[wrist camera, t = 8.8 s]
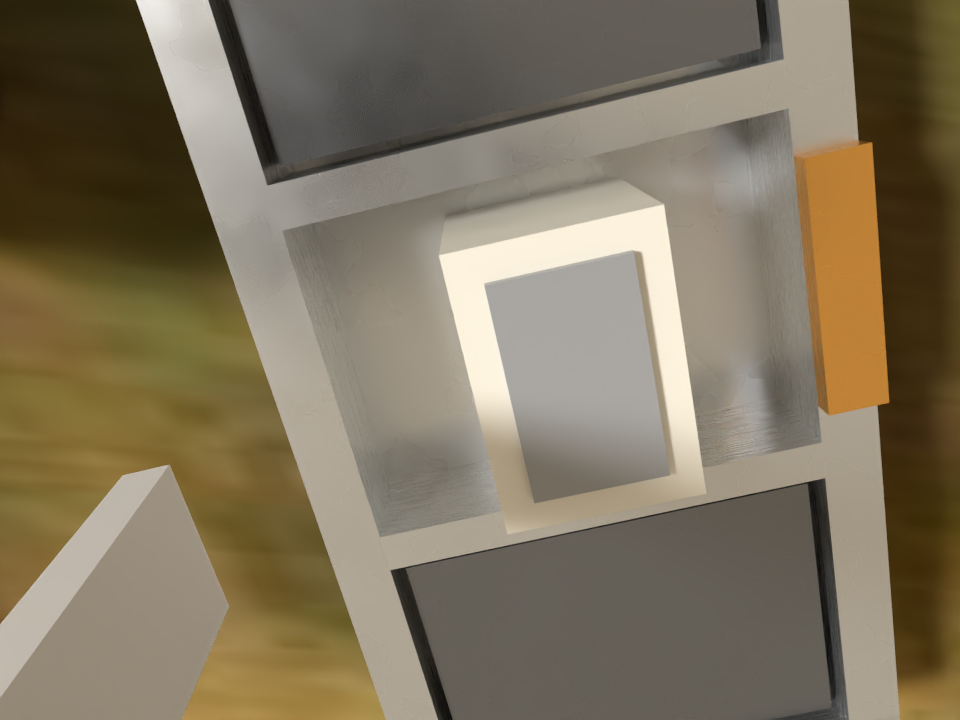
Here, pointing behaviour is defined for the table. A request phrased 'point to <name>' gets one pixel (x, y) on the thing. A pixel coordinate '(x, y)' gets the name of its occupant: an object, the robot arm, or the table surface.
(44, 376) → the table surface
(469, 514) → the tray
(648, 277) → the white block
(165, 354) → the table surface
